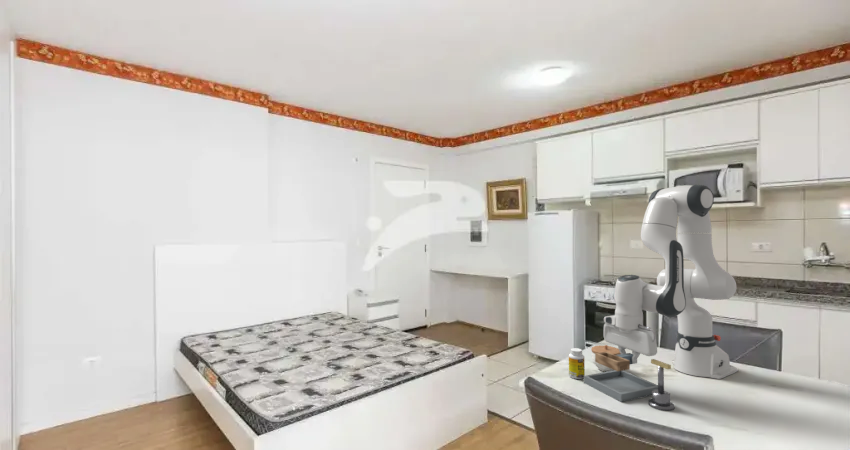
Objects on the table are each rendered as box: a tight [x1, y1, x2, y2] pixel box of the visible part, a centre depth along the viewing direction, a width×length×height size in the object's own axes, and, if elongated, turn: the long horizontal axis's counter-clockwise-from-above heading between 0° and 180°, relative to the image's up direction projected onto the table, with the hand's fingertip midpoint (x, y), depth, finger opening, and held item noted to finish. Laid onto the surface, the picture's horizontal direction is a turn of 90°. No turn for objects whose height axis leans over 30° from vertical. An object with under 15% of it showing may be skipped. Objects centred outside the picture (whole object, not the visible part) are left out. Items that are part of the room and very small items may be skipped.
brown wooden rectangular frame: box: [595, 352, 634, 371], centre depth 141 cm, size 10×12×3 cm
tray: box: [583, 370, 658, 403], centre depth 141 cm, size 17×17×2 cm
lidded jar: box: [590, 344, 621, 372], centre depth 159 cm, size 11×11×9 cm
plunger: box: [648, 358, 675, 412], centre depth 128 cm, size 7×7×14 cm
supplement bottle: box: [568, 347, 586, 380], centre depth 152 cm, size 6×6×10 cm
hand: (629, 361), depth 143 cm, fingers closed on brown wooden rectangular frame, 2 cm apart
